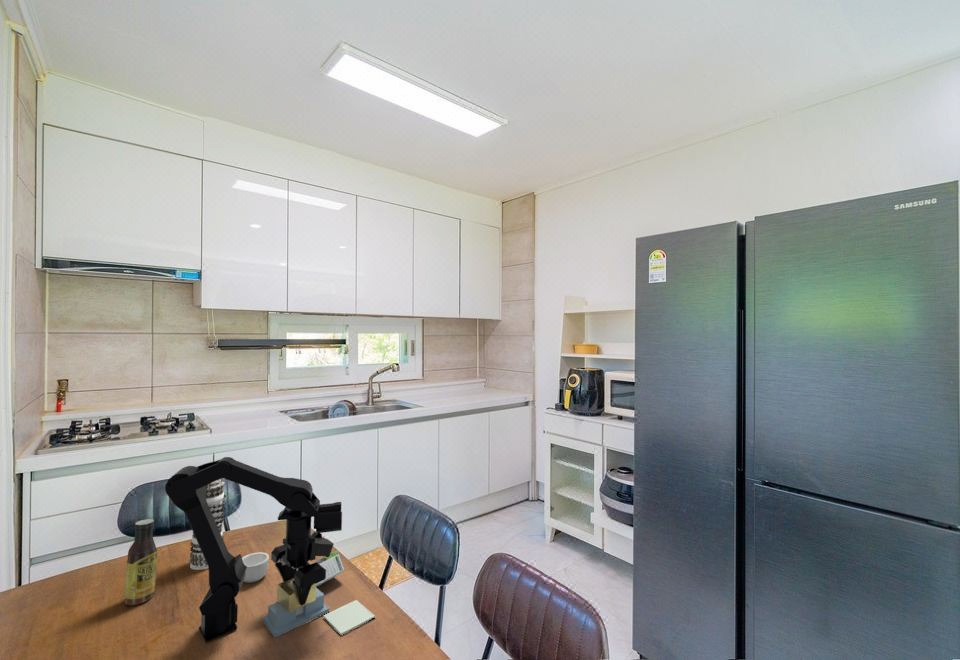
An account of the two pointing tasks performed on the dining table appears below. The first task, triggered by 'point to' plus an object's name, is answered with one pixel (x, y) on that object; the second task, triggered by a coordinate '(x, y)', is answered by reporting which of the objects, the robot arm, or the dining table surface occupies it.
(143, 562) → the sauce bottle
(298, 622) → the blue stepped base
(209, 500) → the white patterned cylinder
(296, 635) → the dining table surface
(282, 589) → the brass collar
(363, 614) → the off-white board
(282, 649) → the dining table surface
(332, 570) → the syrup box
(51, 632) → the dining table surface
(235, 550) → the dining table surface
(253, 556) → the teacup
